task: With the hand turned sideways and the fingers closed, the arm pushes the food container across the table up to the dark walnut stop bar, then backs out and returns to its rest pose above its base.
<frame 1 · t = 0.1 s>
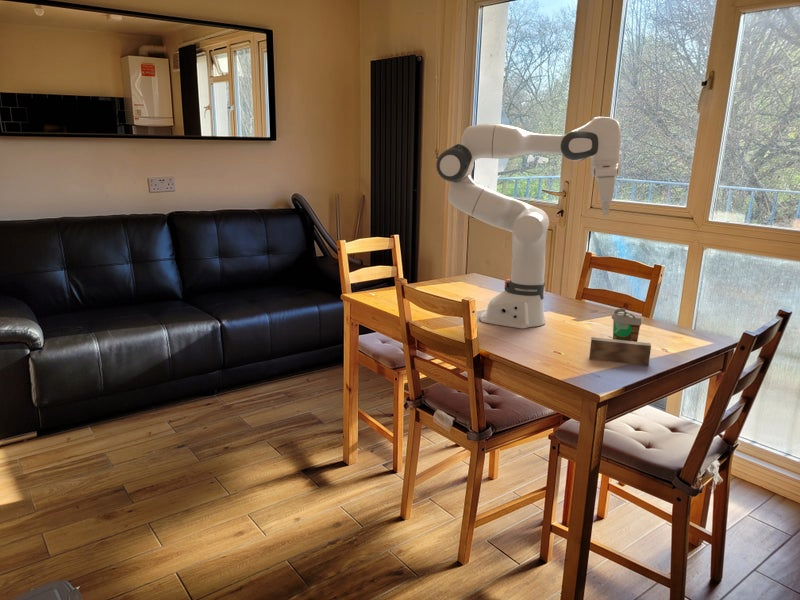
hand: (605, 213, 194), 39 cm above the table, tool pointing down, fingers open, 8 cm apart
walnut stop bar: (618, 361, 173), on the table
food container: (619, 344, 188), on the table
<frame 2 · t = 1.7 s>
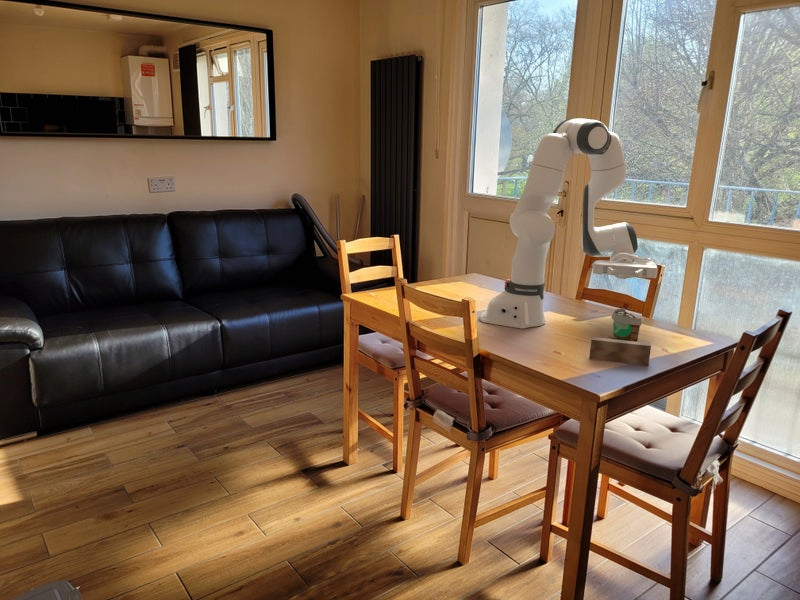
hand: (625, 273, 193), 20 cm above the table, tool horizontal, fingers open, 6 cm apart
nothing on the table moved.
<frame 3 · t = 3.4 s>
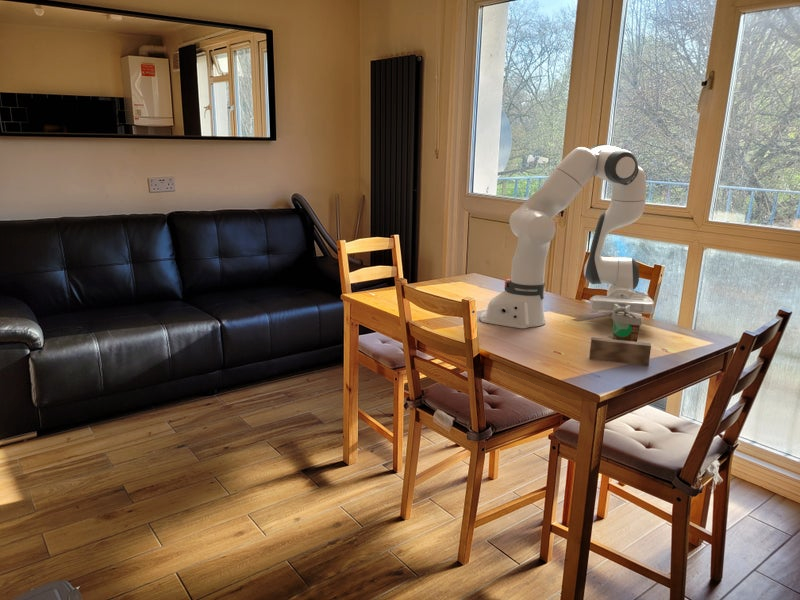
hand: (622, 310, 197), 8 cm above the table, tool horizontal, fingers closed
nothing on the table moved.
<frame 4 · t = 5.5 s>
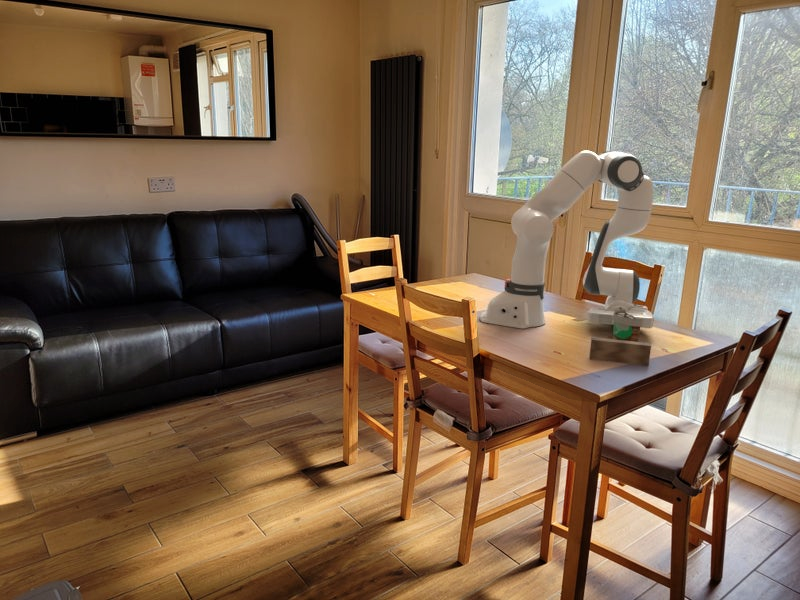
hand: (621, 324, 191), 5 cm above the table, tool horizontal, fingers closed
food container: (620, 345, 187), on the table, touching gripper
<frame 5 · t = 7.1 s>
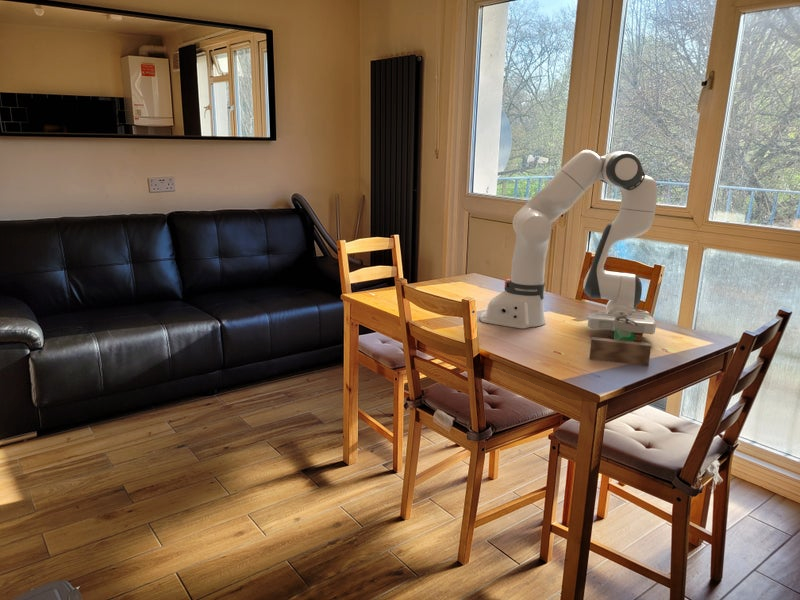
hand: (622, 330, 185), 5 cm above the table, tool horizontal, fingers closed
food container: (621, 352, 181), on the table, touching gripper
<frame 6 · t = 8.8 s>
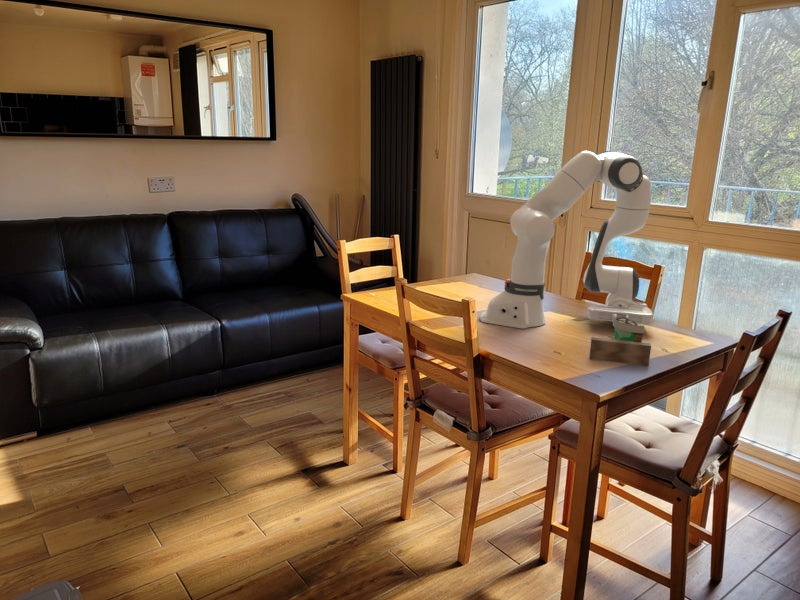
hand: (620, 321, 194), 5 cm above the table, tool horizontal, fingers closed
food container: (621, 352, 181), on the table
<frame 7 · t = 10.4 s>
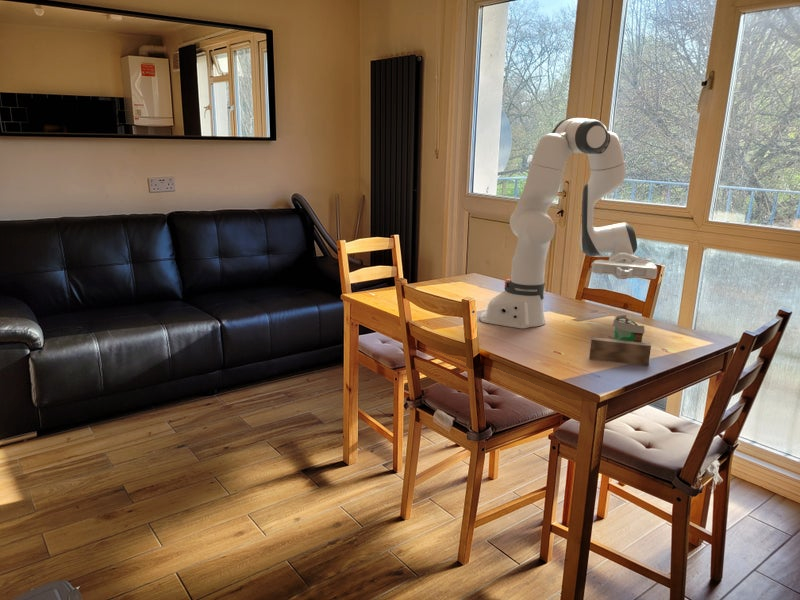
hand: (624, 273, 192), 20 cm above the table, tool horizontal, fingers closed
nothing on the table moved.
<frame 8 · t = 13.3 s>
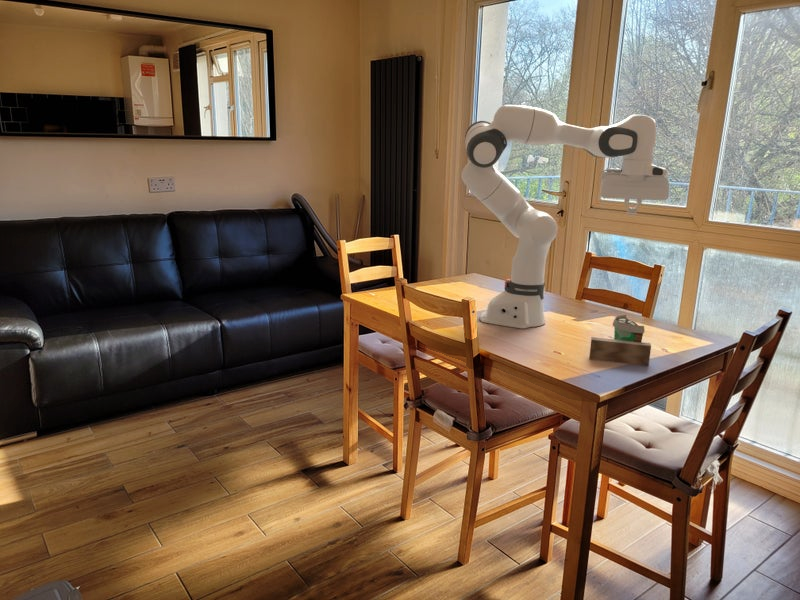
hand: (631, 213, 191), 39 cm above the table, tool pointing down, fingers closed
nothing on the table moved.
at the end: food container inside the target area on the table beside the walnut stop bar (0.9 cm from its centre), on the table; food container tilted 0°; food container moved 8.1 cm from its start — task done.
